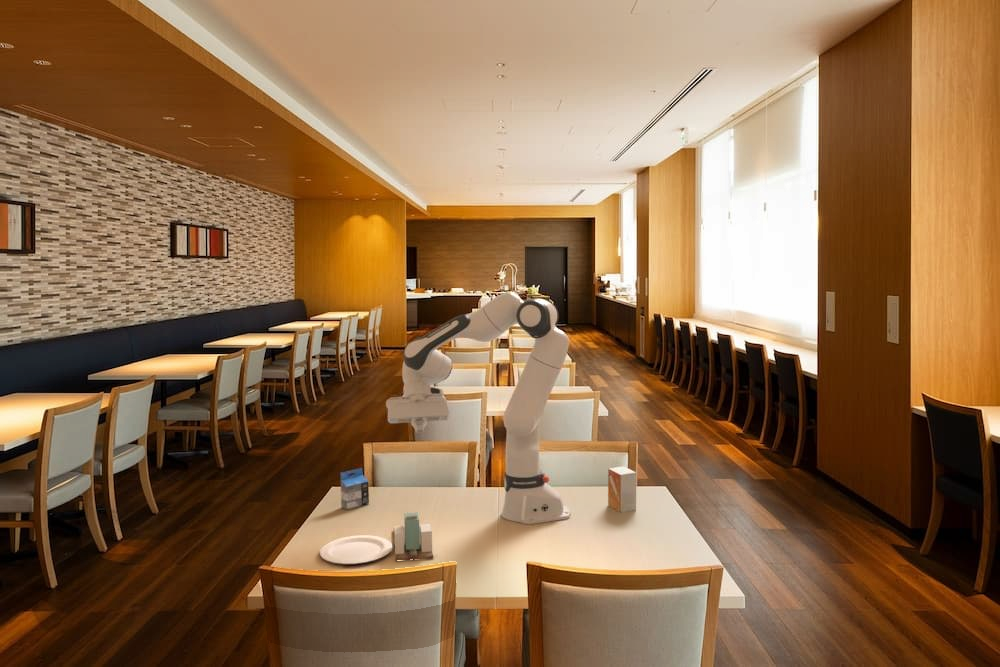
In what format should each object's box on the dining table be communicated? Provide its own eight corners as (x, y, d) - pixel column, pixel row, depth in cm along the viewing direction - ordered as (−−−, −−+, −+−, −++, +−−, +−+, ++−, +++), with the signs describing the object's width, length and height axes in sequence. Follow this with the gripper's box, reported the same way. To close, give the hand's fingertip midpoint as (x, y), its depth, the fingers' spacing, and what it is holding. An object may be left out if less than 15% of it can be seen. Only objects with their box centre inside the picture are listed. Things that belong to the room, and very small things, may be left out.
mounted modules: (430, 543, 222) (430, 523, 222) (432, 551, 216) (431, 531, 216) (394, 546, 221) (394, 526, 220) (395, 554, 215) (394, 533, 214)
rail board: (427, 528, 237) (427, 524, 237) (433, 558, 214) (432, 554, 213) (393, 530, 235) (393, 526, 235) (395, 561, 212) (395, 557, 212)
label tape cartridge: (346, 510, 255) (345, 475, 253) (341, 507, 258) (339, 472, 256) (369, 504, 260) (368, 469, 259) (363, 501, 263) (362, 467, 262)
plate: (346, 536, 232) (346, 531, 232) (405, 545, 224) (405, 540, 224) (304, 562, 213) (304, 556, 213) (367, 573, 205) (367, 567, 205)
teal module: (418, 541, 223) (417, 509, 222) (419, 548, 217) (418, 516, 216) (405, 542, 222) (404, 510, 221) (405, 550, 216) (404, 517, 215)
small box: (607, 505, 256) (607, 468, 255) (623, 502, 259) (623, 465, 257) (620, 512, 249) (620, 474, 247) (636, 510, 251) (636, 472, 250)
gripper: (385, 392, 247) (387, 428, 239) (447, 389, 251) (451, 424, 242) (385, 403, 252) (387, 438, 244) (446, 399, 255) (450, 434, 247)
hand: (419, 431), depth 243 cm, fingers closed
